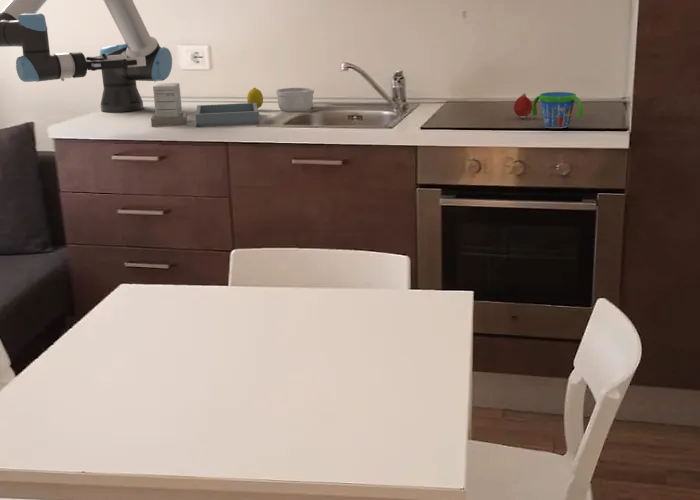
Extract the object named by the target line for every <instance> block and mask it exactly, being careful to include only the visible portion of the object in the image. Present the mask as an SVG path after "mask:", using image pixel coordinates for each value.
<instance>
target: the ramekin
mask: <svg viewBox="0 0 700 500" xmlns="http://www.w3.org/2000/svg"><path fill="white" fill-rule="evenodd" d="M275 94H276V97H277V98H276V99H277V104H278V108H279V109H280V111H282V112H287V113H288V112H291V113H293V112H294V113H295V112H296V113H297V112H306V111H310V110H311V109H312V107H313V102H314V101H313V99H314V94H315V91H314V89H313V88H310V87H287V88H286V87H284V88H279V89H276V91H275Z"/></svg>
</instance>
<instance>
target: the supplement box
mask: <svg viewBox="0 0 700 500" xmlns="http://www.w3.org/2000/svg"><path fill="white" fill-rule="evenodd" d="M180 86H181V85H180V83H178V82H172V83H171V82H169V83H167V82H166V83H157V84H155V85H154V86H152V90H153V99H154V100H153V101H154V110H155V112H154V113H156V118H168V117H182V112H183V110H182V107H183V106H182V98H181V87H180Z"/></svg>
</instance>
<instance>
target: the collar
mask: <svg viewBox="0 0 700 500" xmlns="http://www.w3.org/2000/svg"><path fill="white" fill-rule="evenodd" d="M187 121H188V112H187V111H182V117H168V118H156V112H154V113H153V114H152V116H151V117H150V124H151V127H164V126H163V125H172V126H186V125H187V123H188V122H187Z"/></svg>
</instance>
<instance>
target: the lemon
mask: <svg viewBox="0 0 700 500" xmlns="http://www.w3.org/2000/svg"><path fill="white" fill-rule="evenodd" d="M246 100H247V103H256V104H257V108H258V109H260V108H261V107H262V105H263V103H264V96H263V93H262V91H261V90H260V89H258V88H256V87H253V88H252V89H250V90H249V91H248V92H247V97H246Z"/></svg>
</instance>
